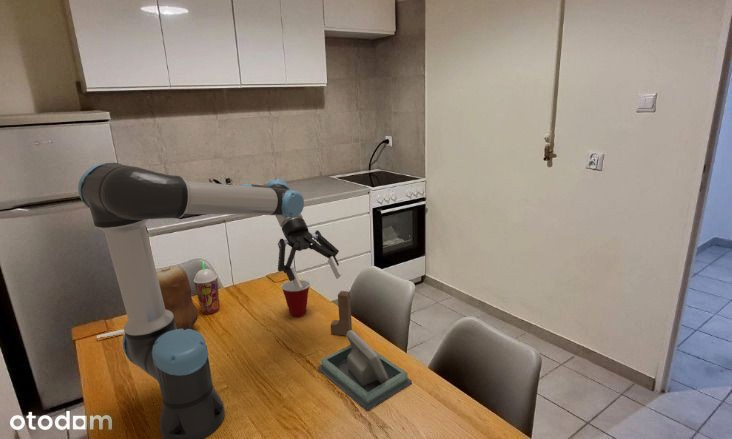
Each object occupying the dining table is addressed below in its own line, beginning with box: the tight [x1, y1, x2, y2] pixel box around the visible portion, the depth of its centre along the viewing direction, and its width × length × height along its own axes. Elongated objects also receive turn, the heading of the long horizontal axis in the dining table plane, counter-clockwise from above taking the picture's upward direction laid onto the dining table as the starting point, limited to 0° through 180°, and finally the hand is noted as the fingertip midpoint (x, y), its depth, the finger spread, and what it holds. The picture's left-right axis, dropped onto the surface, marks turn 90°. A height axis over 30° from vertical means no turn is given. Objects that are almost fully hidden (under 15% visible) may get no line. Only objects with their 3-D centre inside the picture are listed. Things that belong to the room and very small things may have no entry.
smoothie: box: [193, 261, 220, 315], centre depth 160 cm, size 8×8×20 cm
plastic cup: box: [280, 279, 311, 318], centre depth 157 cm, size 11×11×12 cm
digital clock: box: [345, 329, 389, 386], centre depth 120 cm, size 16×9×11 cm, turn 18°
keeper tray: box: [317, 344, 413, 412], centre depth 121 cm, size 16×23×4 cm
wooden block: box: [330, 290, 353, 337], centre depth 142 cm, size 7×3×15 cm, turn 74°
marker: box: [96, 328, 125, 339], centre depth 149 cm, size 18×2×2 cm, turn 117°
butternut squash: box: [156, 265, 199, 330], centre depth 143 cm, size 14×13×25 cm
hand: (320, 282), depth 126 cm, fingers open, 13 cm apart
